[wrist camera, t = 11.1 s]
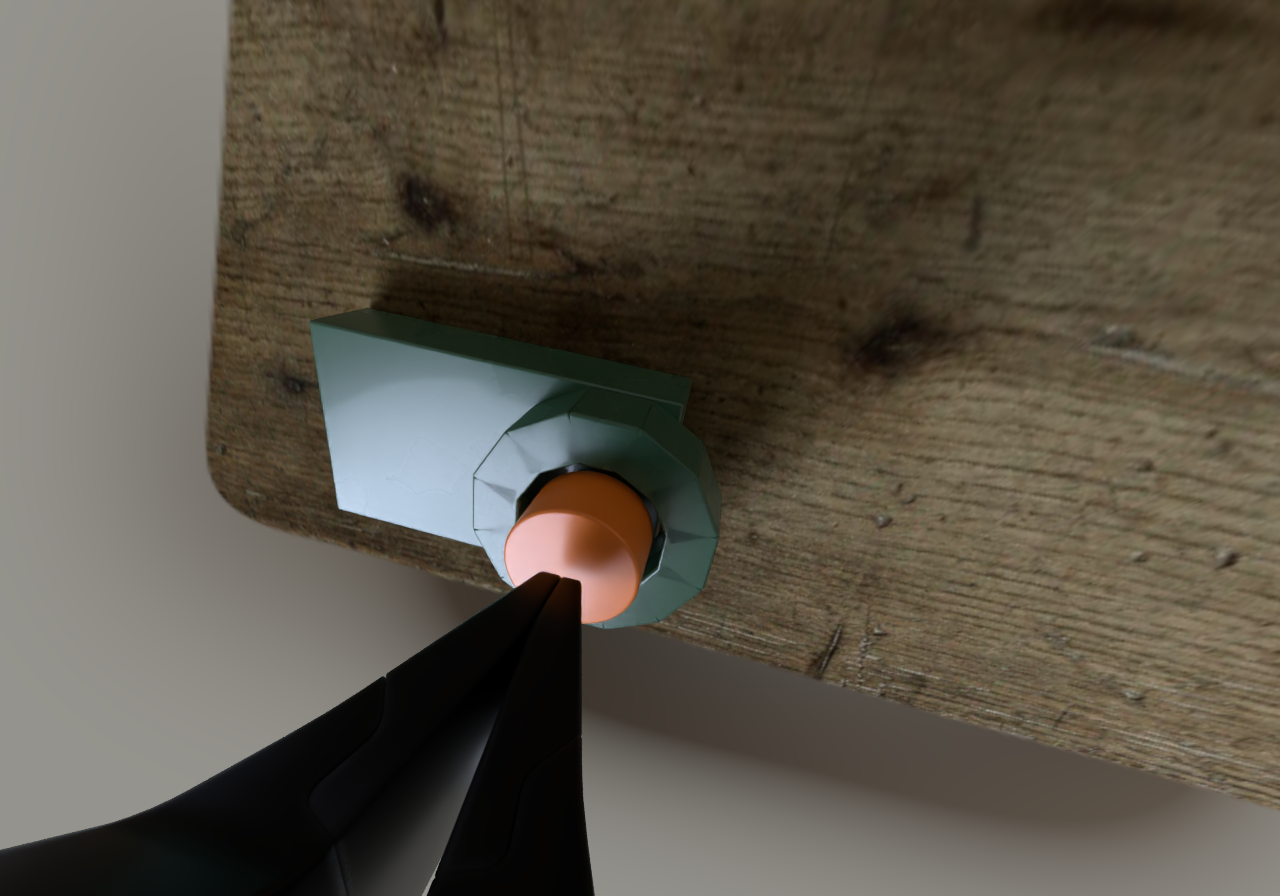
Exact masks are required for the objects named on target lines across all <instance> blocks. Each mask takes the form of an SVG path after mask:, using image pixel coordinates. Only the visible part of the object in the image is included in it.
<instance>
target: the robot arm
mask: <svg viewBox="0 0 1280 896" xmlns="http://www.w3.org/2000/svg"><path fill="white" fill-rule="evenodd" d="M581 689H582V584H581V582H580V581H579V580H575V579H571V578H568V577H562V578H561V577H560V576H559V575H557V574H553V573H549V572H545V571H541V572H539V573H537V574H535V575H534V576H532V577H531V578H529V579H528V580H526V581H525V582H523V583H522V584H520V585H519V586H517V587H516V588H514V589H513V590H511V591H510V592H508V593H507V594H505V595H504V596H502V597H501V598H499V599H498V600H496V601H495V602H493V603H492V604H491V605H489V606H488V607H486V608H484V609H483V610H481V611H480V612H478V613H477V614H475V615H474V616H472V617H471V618H470V619H468V620H467V621H465V622H463V623H462V624H460V625H459V626H457V627H456V628H455V629H453V630H452V631H450V632H448V633H447V634H445V635H444V636H443V637H441V638H439V639H438V640H436V641H435V642H433V643H432V644H430V645H429V646H427V647H426V648H424V649H423V650H422V651H420V652H419V653H417V654H415V655H414V656H412V657H411V658H409V659H408V660H407V661H405V662H403V663H402V664H400V665H399V666H398V667H396V668H394V669H393V670H391V671H390V672H389V673H387V675H386V678H385V677H381V678H379V679H378V680H376V681H375V682H373V683H372V684H370V685H369V686H367V687H366V688H364V689H363V690H361V691H360V692H358V693H357V694H355V695H353V696H352V697H350V698H349V699H347V700H345V701H344V702H342V703H341V704H339V705H338V706H336V707H334V708H333V709H331V710H330V711H328V712H326V713H325V714H323V715H321V716H320V717H318V718H316V719H314V720H313V721H311V722H309V723H307V724H306V725H304V726H302V727H301V728H299V729H297V730H295V731H294V732H292V733H290V734H288V735H287V736H285V737H283V738H282V739H280V740H278V741H276V742H274V743H272V744H271V745H269V746H267V747H265V748H263V749H262V750H260V751H258V752H256V753H254V754H253V755H251V756H249V757H247V758H246V759H244V760H242V761H240V762H238V763H236V764H235V765H233V766H231V767H229V768H227V769H226V770H224V771H222V772H220V773H219V774H217V775H215V776H213V777H211V778H209V779H208V780H206V781H204V782H202V783H200V784H199V785H197V786H195V787H193V788H192V789H190V790H188V791H186V792H184V793H182V794H180V795H178V796H176V797H174V798H172V799H170V800H168V801H166V802H164V803H162V804H160V805H158V806H155V807H153V808H151V809H149V810H146V811H143V812H141V813H138V814H136V815H133V816H131V817H128V818H125V819H122V820H119V821H116V822H112V823H109V824H105V825H101V826H97V827H93V828H89V829H85V830H81V831H77V832H72V833H69V834H64V835H60V836H56V837H52V838H48V839H44V840H40V841H35V842H32V843H27V844H23V845H19V846H14V847H11V848H7V849H2V850H0V896H422V894H423V892H424V890H425V888H426V886H427V884H428V882H429V880H430V878H431V876H432V874H433V873H434V871H435V869H436V867H437V865H438V863H439V861H440V859H441V861H440V863H439V866H438V868H437V871H436V874H435V879H434V880H433V882H432V884H431V886H430V889H429V891H428V894H427V896H595V894H594V886H593V878H592V871H591V864H590V855H589V847H588V840H587V831H586V822H585V811H584V802H583V783H582V738H581V734H582V725H581V724H582V700H581V699H582V690H581ZM441 857H442V858H441Z"/></svg>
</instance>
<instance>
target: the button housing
mask: <svg viewBox="0 0 1280 896" xmlns="http://www.w3.org/2000/svg"><path fill="white" fill-rule="evenodd" d="M309 325H310V331H311V338H312V344H313V350H314V357H315V363H316V370H317V376H318V383H319V389H320V396H321V402H322V409H323V415H324V422H325V428H326V435H327V441H328V447H329V454H330V460H331V467H332V473H333V480H334V486H335V493H336V499H337V506H338V508H339V509H340V510H344V511H348V512H351V513H355V514H359V515H363V516H366V517H370V518H374V519H378V520H381V521H385V522H389V523H392V524H396V525H400V526H404V527H407V528H411V529H415V530H419V531H422V532H426V533H430V534H434V535H437V536H441V537H445V538H449V539H452V540H456V541H460V542H463V543H467V544H471V545H475V546H478V547H482V548H484V550H485V552H486V554H487V555H488V557H489V559H490V561H491V562H492V564H493V566H494V568H495V569H496V571H497V573H498V575H499V576H500V577H501V579H502V580H503V581H504V582H506V583H507V584H508V585H510V586H511V587H512V588H516V587H515V586H514V584H513V583H512V581H511V579H510V577H509V575H508V573H507V570H506V566H505V561H504V548H505V542H506V539H507V536H508V534H509V532H510V530H511V529H512V527H513V526H514V525H515V523H516V522H517V521H518V519H519V518H520V517H521V516H522V514H523V513H524V512H525V510H526V509H527V508H528V506H529V505H530V504H531V502H532V501H533V500H534V498H535V497H536V496H537V494H538V493H539V492H540V491H541V489H542V488H543V487H544V486H545V485H546V484H547V483H548V482H549V481H551V480H552V479H554V478H555V477H557V476H559V475H562V474H565V473H569V472H574V471H594V472H599V473H603V474H606V475H609V476H611V477H614V478H616V479H618V480H619V481H621V482H623V483H624V484H626V485H627V486H628V487H630V488H631V489H632V490H633V491H634V492H635V493H636V494H637V495H638V496H639V497H640V498H641V500H642V501H643V503H644V504H645V506H646V508H647V510H648V512H649V514H650V517H651V520H652V525H653V540H652V545H651V548H650V552H649V555H648V559H647V562H646V566H645V569H644V573H643V576H642V580H641V583H640V587H639V590H638V593H637V595H636V597H635V599H634V601H633V602H632V604H631V605H630V606H629V607H628V608H627V609H626V610H625V611H624V612H622V613H621V614H619V615H618V616H616V617H614V618H612V619H610V620H607V621H603V622H599V623H590V624H587V625H590V626H594V627H598V628H601V629H604V628H605V629H613V628H620V627H628V626H635V625H643V624H650V623H657V622H660V621H662V620H664V619H665V618H666V617H668V616H669V615H670V614H672V613H673V612H674V611H676V610H677V609H678V608H680V607H681V606H682V605H684V604H685V603H686V602H688V601H689V600H690V599H691V598H693V597H694V596H695V595H697V594H698V593H699V592H701V591H702V589H704V587H705V584H706V581H707V578H708V574H709V571H710V568H711V564H712V561H713V558H714V554H715V551H716V547H717V544H718V541H719V533H720V520H721V506H722V495H721V492H720V489H719V486H718V483H717V480H716V477H715V474H714V472H713V469H712V466H711V463H710V460H709V457H708V454H707V451H706V448H705V446H704V445H703V442H702V441H701V440H700V439H699V438H698V437H696V436H695V435H694V434H693V433H692V432H691V431H689V430H688V429H687V428H686V427H685V426H684V425H683V421H684V417H685V412H686V408H687V403H688V399H689V394H690V390H691V385H692V379H690V378H687V377H682V376H678V375H673V374H669V373H664V372H659V371H655V370H650V369H646V368H641V367H637V366H632V365H627V364H623V363H618V362H614V361H609V360H604V359H600V358H595V357H591V356H586V355H582V354H577V353H572V352H568V351H563V350H559V349H554V348H549V347H545V346H540V345H536V344H531V343H527V342H522V341H517V340H513V339H508V338H504V337H499V336H494V335H490V334H485V333H481V332H476V331H472V330H467V329H462V328H458V327H453V326H449V325H444V324H439V323H435V322H430V321H426V320H421V319H417V318H412V317H407V316H403V315H398V314H394V313H389V312H384V311H380V310H375V309H371V308H364V309H360V310H355V311H351V312H346V313H342V314H337V315H333V316H328V317H324V318H319V319H315V320H311V321H310V322H309ZM660 524H661V526H662V529H663V531H662V532H661V533H659V529H660ZM658 533H659V534H658ZM583 624H584V623H583Z"/></svg>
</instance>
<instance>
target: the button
mask: <svg viewBox="0 0 1280 896" xmlns="http://www.w3.org/2000/svg"><path fill="white" fill-rule="evenodd" d="M652 540H653V525H652V520H651V517H650V514H649V512H648V510H647V508H646V506H645V504H644V503H643V501H642V500H641V498H640V497H639V496H638V495H637V494H636V493H635V492H634V491H633V490H632V489H631V488H630V487H628V486H627V485H626V484H624V483H623V482H621V481H619V480H618V479H616V478H614V477H611V476H609V475H606V474H603V473H599V472H594V471H574V472H569V473H565V474H562V475H559V476H557V477H555V478H554V479H552V480H551V481H549V482H548V483H547V484H546V485H545V486H544V487H543V488H542V489H541V491H540V492H539V493H538V494H537V496H536V497H535V498H534V500H533V501H532V502H531V504H530V505H529V506H528V508H527V509H526V510H525V512H524V513H523V514H522V516H521V517H520V518H519V519H518V521H517V522H516V523H515V525H514V526H513V527H512V529H511V530H510V532H509V534H508V536H507V539H506V542H505V548H504V561H505V566H506V570H507V573H508V575H509V577H510V579H511V581H512V583H513V584H514V586H515V587H517V586H519V585H520V584H522V583H523V582H525V581H526V580H528V579H529V578H531V577H532V576H534V575H535V574H537V573H539V572H541V571H545V572H549V573H553V574H557V575H559V576H560V577H561V578H562V577H568V578H571V579H575V580H579V581H580V582H581V584H582V623H584V624H590V623H599V622H603V621H607V620H610V619H612V618H614V617H616V616H618V615H619V614H621V613H622V612H624V611H625V610H626V609H627V608H628V607H629V606H630V605H631V604H632V602H633V601H634V599H635V597H636V595H637V593H638V590H639V587H640V583H641V580H642V576H643V573H644V569H645V566H646V562H647V559H648V555H649V552H650V548H651V545H652Z"/></svg>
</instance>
